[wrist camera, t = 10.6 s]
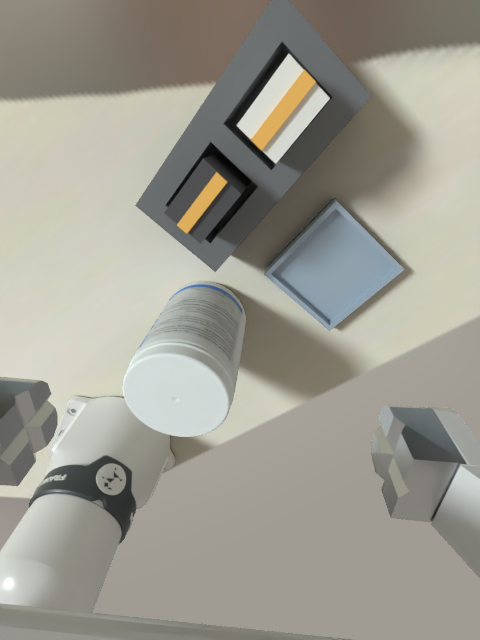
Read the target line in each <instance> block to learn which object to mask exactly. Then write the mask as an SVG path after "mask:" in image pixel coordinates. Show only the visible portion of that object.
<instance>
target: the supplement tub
mask: <svg viewBox="0 0 480 640" xmlns="http://www.w3.org/2000/svg"><path fill="white" fill-rule="evenodd" d="M245 327H246V315H245V311H244V308H243V306H242V304H241V302H240V301H239V299H238V298H237V297H236V296H235V295H234V294H233V293H232V292H231V291H230V290H229V289H227V288H226V287H224V286H222V285H219V284H217V283H213V282H207V281H198V282H193V283H189V284H187V285H185V286H183V287H181V288H180V289H179V290H177V291H176V292H175V293H174V294H173V296H172V297H171V299H170V300H169V302H168V303H167V305H166V306H165V308H164V309H163V311H162V313H161V314H160V316H159V317H158V319H157V320H156V322H155V324H154V325H153V327H152V328H151V330H150V331H149V333H148V335H147V336H146V338H145V339H144V341H143V342H142V344H141V345H140V347H139V349H138V350H137V352H136V354H135V355H134V357H133V359H132V361H131V363H130V365H129V367H128V370H127V372H126V374H125V377H124V380H123V395H124V398H125V401H126V403H127V405H128V407H129V408H130V410H131V411H132V413H133V414H134V415H135V416H136V417H137V418H138V419H139V420H140V421H142V422H143V423H144V424H146V425H147V426H149V427H150V428H152V429H154V430H156V431H159V432H161V433H164V434H167V435H172V436H178V437H194V436H200V435H204V434H206V433H209V432H211V431H213V430H214V429H216V428H217V427H219V426H220V425H221V424H222V423H223V422H224V420H225V419H226V417H227V415H228V413H229V409H230V406H231V404H232V401H233V397H234V392H235V386H236V381H237V375H238V369H239V363H240V357H241V352H242V345H243V339H244V333H245Z"/></svg>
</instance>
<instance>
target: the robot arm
mask: <svg viewBox="0 0 480 640" xmlns="http://www.w3.org/2000/svg"><path fill="white" fill-rule="evenodd" d="M50 395H51V392H50V389H49V386H48V383H46V382H43V381H40V380H29V379H18V378H8V377H3V378H2V377H0V485H11V486H18V485H19V484H20V483H21V481H22V480H23V478H24V477H25V476H26V474H27V473H28V471H29V470H30V469H31V467H32V466H33V465H34V463H35V462H36V457H35V453H36V452H38V451H39V450H41V449H43V448H44V447H46V446H47V445H48V444H49V442H50V441H51V439H52V438H53V436H54V433H55V430H56V427H57V412H56V408H55V407H54V406H53V405H52V404H51V403H50V402H49V401H47V400H48V398H49V397H50ZM378 418H379V421H380V424H381V426H380V427H379V428H378V429H376V430H375V431H374V433H373V437H372V441H371V455H372V461H373V465H374V468H375V472H376V473H377V474H378V475H379V476H380V477H381V478H383V479H384V483H383V486H382V493H383V496H384V499H385V502H386V505H387V508H388V511H389V514H390V516H391V518H397V519H406V520H415V521H424V522H432V526H433V527H434V528H435V529H436V530H437V531H438V532H439V534H440V535H441V536H442V537H443V538H444V539H445V540H446V541H447V542H448V544H449V545H451V547H452V548H453V549H454V550H455V551H456V552H457V553H458V555H459V556H460V557H461V558H462V559H463V560H464V561H465V562H466V564H468V566H469V567H470V568H471V569H472V570H473V571H474V572H475V573H476V575H477V576H478V577H479V578H480V445H479V443H478V442H477V440H476V439H475V437H474V436H473V434H472V433H471V432H470V430H469V429H468V427H467V426H466V425H465V423H464V422H463V420H462V419H461V417H460V416H459V415H458V413H457V412H456V411H454V410H453V409H451V408H437V407H428V408H426V407H412V406H397V405H383V407H382V408H381V410H380V413H379V416H378ZM48 456H49V458H50V462H49V465H48V468H47V471H46V474H45V478H44V480H43V481H42V482H41V483H40V484H39V486H38V487H37V489H36V490H35V492H34V494H33V497H32V499H31V500H30V503H29V510H28V511H27V512H26V514H25V515H24V517H23V518H22V520H21V521H20V523H19V524H18V526H17V527H16V528H15V530H14V531H13V533H12V535H11V536H10V537H9V539H8V541H7V542H6V544H5V545H4V546H3V548H2V549H1V551H0V640H351V639H341V638H332V637H322V636H312V635H302V634H293V633H283V632H274V631H264V630H254V629H245V628H234V627H225V626H216V625H206V624H196V623H187V622H177V621H167V620H158V619H147V618H138V617H128V616H119V615H108V614H99V613H93V610H94V607H95V604H96V601H97V599H98V596H99V593H100V591H101V588H102V586H103V583H104V580H105V578H106V575H107V572H108V570H109V567H110V565H111V562H112V560H113V557H114V554H115V552H116V549H117V547H118V545H119V544H120V543H121V542H122V541H123V540H124V538H125V536H126V534H127V532H128V531H129V529H130V526H131V524H132V521H133V517H134V514H135V511H136V509H139V508H141V507H143V506H144V505H147V504H148V502H149V501H150V499H151V497H152V495H153V492H154V490H155V488H156V486H157V483H158V481H159V479H160V476H161V474H162V473H163V472H165V471H167V470H169V469H171V468H172V467H173V466H174V464H175V457H174V455H173V453H172V451H171V449H170V435H167V434H164V433H161V432H159V431H156V430H154V429H152V428H150V427H149V426H147V425H146V424H144V423H143V422H142V421H140V420H139V419H138V418H137V417H136V416H135V415H134V414H133V413H132V411H131V410H130V408H129V407H128V405H127V403H126V401H125V398H121V397H101V398H86V397H80V396H73V397H71V398H70V400H69V402H68V403H67V406H66V408H65V411H64V413H63V416H62V418H61V421H60V423H59V426H58V428H57V431H56V433H55V436H54V438H53V441H52V443H51V446H50V448H49V451H48Z"/></svg>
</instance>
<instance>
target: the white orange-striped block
mask: <svg viewBox="0 0 480 640" xmlns="http://www.w3.org/2000/svg"><path fill="white" fill-rule="evenodd" d="M329 99H330V98H329V97H328V96H327V94H326V93H325V92H324V91H323V90H322V89H321V88H320V87H319V86H318V85H317V84H316V81H315V80H314V79H313V78H312V77H311V76H310V75H309V74H308V73H307V72H306V70H305V69H303V68H302V67H301V66H300V65H299V64H298V63H297V62H296V61H295V59H294V58H293V57H292V56H291V55H290V54H288V55H287V57H286V58H285V59H284V61H283V62H282V64H281V65H280V66H279V68H278V69H277V70H276V72H275V73H274V75H273V76H272V77H271V79H270V80H269V81H268V83H267V84H266V86H265V87H264V88H263V90H262V91H261V92H260V94H259V95H258V97H257V98H256V99H255V101H254V102H253V104H252V105H251V106H250V108H249V109H248V110H247V112H246V113H245V115H244V116H243V117H242V119H241V120H240V121H239V123H238V124H237V127H238V128H239V129H240V130H241V131H242V132H243V133H244V134H245V135H247V136H248V137H249V138H250V139H251V141H252V142H253V143H254V144H255V145H256V146H257V147H258V148H259V149H260V150H261V151H263V152H264V153H265V154H266V155H267V156H268V157H269V158H270V159H271V160H272V161H273V162H274V163H275V164H276V163H277V162H278V161H279V160H280V158H281V157H282V156H283V155H284V154H285V152H286V151H287V150H288V149H289V148H290V146H291V145H292V144H293V143H294V141H295V140H296V139H297V138H298V137H299V135H300V134H301V133H302V132H303V131H304V129H305V128H306V127H307V126H308V125H309V123H310V122H311V121H312V120H313V118H314V117H315V116H316V115H317V114H318V112H319V111H320V110H321V109H322V108H323V106H324V105H325V104H326V103H327V102H328V100H329Z"/></svg>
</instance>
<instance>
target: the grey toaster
mask: <svg viewBox="0 0 480 640" xmlns="http://www.w3.org/2000/svg"><path fill="white" fill-rule="evenodd" d="M288 54H290V55H291V56H292V57H293V58H294V59H295V61H296V62H297V63H298V64H299V65H300V66H301V67H302V68H303V69H305V70H306V72H307V73H308V74H309V75H310V76H311V77H312V78H313V79H314V80H315V81H316V84H317V85H318V86H319V87H320V88H321V89H322V90H323V91H324V92H325V93H326V94H327V96H328V97H329V98H330V99H329V100H328V102H327V103H326V104H325V105H324V106H323V108H322V109H321V110H320V111H319V112H318V114H317V115H316V116H315V117H314V118H313V120H312V121H311V122H310V123H309V125H308V126H307V127H306V128H305V129H304V131H303V132H302V133H301V134H300V135H299V137H298V138H297V139H296V140H295V141H294V143H293V144H292V145H291V146H290V148H289V149H288V150H287V151H286V152H285V154H284V155H283V156H282V157H281V158H280V160H279V161H278V162H277V163H276V164H275V163H274V162H273V161H272V160H271V159H270V158H269V157H268V156H267V155H266V154H265V153H264V152H263V151H261V150H260V149H259V148H258V147H257V146H256V145H255V144H254V143H253V142H252V141H251V139H250V138H249V137H248V136H247V135H245V134H244V133H243V132H242V131H241V130H240V129H239V128H238V127H237V124H238V123H239V121H240V120H241V119H242V117H243V116H244V115H245V113H246V112H247V110H248V109H249V108H250V106H251V105H252V104H253V102H254V101H255V99H256V98H257V97H258V95H259V94H260V92H261V91H262V90H263V88H264V87H265V86H266V84H267V83H268V81H269V80H270V79H271V77H272V76H273V75H274V73H275V72H276V70H277V69H278V68H279V66H280V65H281V64H282V62H283V61H284V59H285V58H286V57H287V55H288ZM370 97H371V94H370V93H369V92H368V91H367V90H366V89H365V88H364V86H363V85H362V84H361V83H360V82H359V81H358V79H357V78H356V77H355V76H354V75H353V74H352V73H351V71H350V70H349V69H348V68H347V67H346V66H345V64H344V63H343V62H342V61H341V60H340V59H339V58H338V56H337V55H336V54H335V53H334V52H333V51H332V49H331V48H330V47H329V46H328V45H327V44H326V43H325V41H324V40H323V39H322V38H321V37H320V36H319V34H318V33H317V32H316V31H315V30H314V29H313V27H312V26H311V25H310V24H309V23H308V22H307V21H306V19H305V18H304V17H303V16H302V15H301V14H300V12H299V11H298V10H297V9H296V8H295V7H294V6H293V4H292V3H291V2H290V1H289V0H271V2H270V3H269V4H268V6H267V8H266V9H265V11H264V12H263V14H262V15H261V17H260V18H259V20H258V21H257V23H256V24H255V26H254V27H253V29H252V30H251V32H250V33H249V35H248V36H247V38H246V39H245V41H244V42H243V44H242V45H241V47H240V48H239V50H238V51H237V53H236V54H235V56H234V57H233V59H232V60H231V62H230V63H229V65H228V66H227V68H226V70H225V71H224V72H223V74H222V75H221V77H220V78H219V80H218V81H217V83H216V85H215V86H214V88H213V89H212V91H211V92H210V94H209V95H208V97H207V98H206V100H205V101H204V103H203V104H202V106H201V107H200V109H199V110H198V112H197V113H196V115H195V116H194V118H193V119H192V121H191V122H190V124H189V125H188V127H187V128H186V130H185V131H184V133H183V134H182V136H181V137H180V139H179V140H178V142H177V143H176V145H175V146H174V148H173V149H172V151H171V152H170V154H169V155H168V157H167V159H166V160H165V162H164V163H163V165H162V166H161V168H160V169H159V171H158V172H157V174H156V175H155V177H154V178H153V180H152V181H151V183H150V184H149V186H148V187H147V189H146V190H145V192H144V193H143V195H142V196H141V198H140V199H139V201H138V202H137V204H136V205H135V206H137V207H138V208H139V209H140V210H141V211H143V212H144V213H145V214H146V215H147V216H149V217H150V218H151V219H152V220H153V221H155V222H156V223H157V224H158V225H159V226H161V227H162V228H163V229H164V230H165V231H167V232H168V233H169V234H170V235H171V236H173V237H174V238H175V239H176V240H178V241H179V242H180V243H181V244H182V245H184V246H185V247H186V248H187V249H188V250H190V251H191V252H192V253H193V254H194V255H196V256H197V257H198V258H199V259H200V260H202V261H203V262H204V263H205V264H206V265H208V266H209V267H210V268H211V269H212V270H214V271H215V272H216V271H217V270H218V268H219V267H220V266H221V265H222V264H223V263H224V262H225V260H226V259H227V258H228V257H229V256H230V255H231V254H232V253H233V251H234V250H235V249H236V248H237V247H238V246H239V245H240V244H241V242H242V241H243V240H244V239H245V238H246V237H247V236H248V235H249V233H250V232H251V231H252V230H253V229H254V228H255V227H256V226H257V224H258V223H259V222H260V221H261V220H262V219H263V218H264V217H265V215H266V214H267V213H268V212H269V211H270V210H271V209H272V207H273V206H274V205H275V204H276V203H277V202H278V201H279V200H280V198H281V197H282V196H283V195H284V194H285V193H286V192H287V191H288V189H289V188H290V187H291V186H292V185H293V184H294V183H295V182H296V180H297V179H298V178H299V177H300V176H301V175H302V174H303V173H304V171H305V170H306V169H307V168H308V167H309V166H310V165H311V164H312V162H313V161H314V160H315V159H316V158H317V157H318V156H319V155H320V153H321V152H322V151H323V150H324V149H325V148H326V147H327V145H328V144H329V143H330V142H331V141H332V140H333V139H334V138H335V136H336V135H337V134H338V133H339V132H340V131H341V130H342V129H343V127H344V126H345V125H346V124H347V123H348V122H349V121H350V120H351V118H352V117H353V116H354V115H355V114H356V113H357V112H358V111H359V109H360V108H361V107H362V106H363V105H364V104H365V103H366V102H367V100H368V99H369V98H370Z"/></svg>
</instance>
